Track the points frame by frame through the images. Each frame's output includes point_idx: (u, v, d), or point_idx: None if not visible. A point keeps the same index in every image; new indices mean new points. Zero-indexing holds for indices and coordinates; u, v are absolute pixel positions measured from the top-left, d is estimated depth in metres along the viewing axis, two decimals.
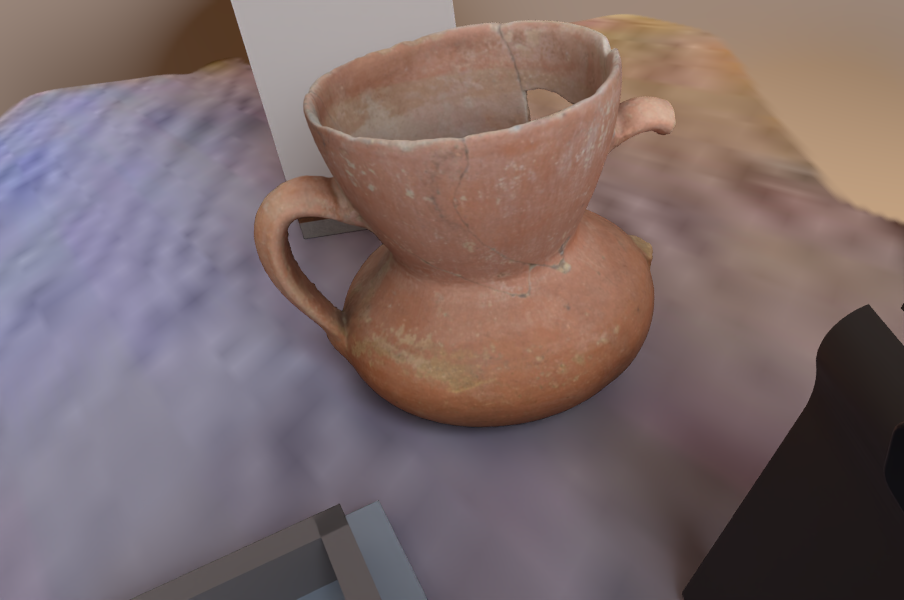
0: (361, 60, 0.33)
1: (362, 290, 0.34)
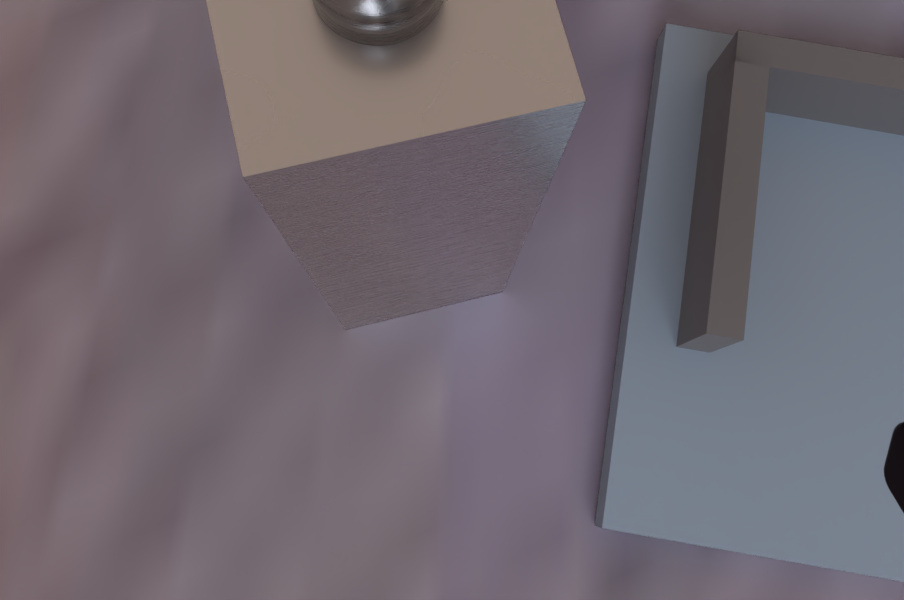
0: None
1: None
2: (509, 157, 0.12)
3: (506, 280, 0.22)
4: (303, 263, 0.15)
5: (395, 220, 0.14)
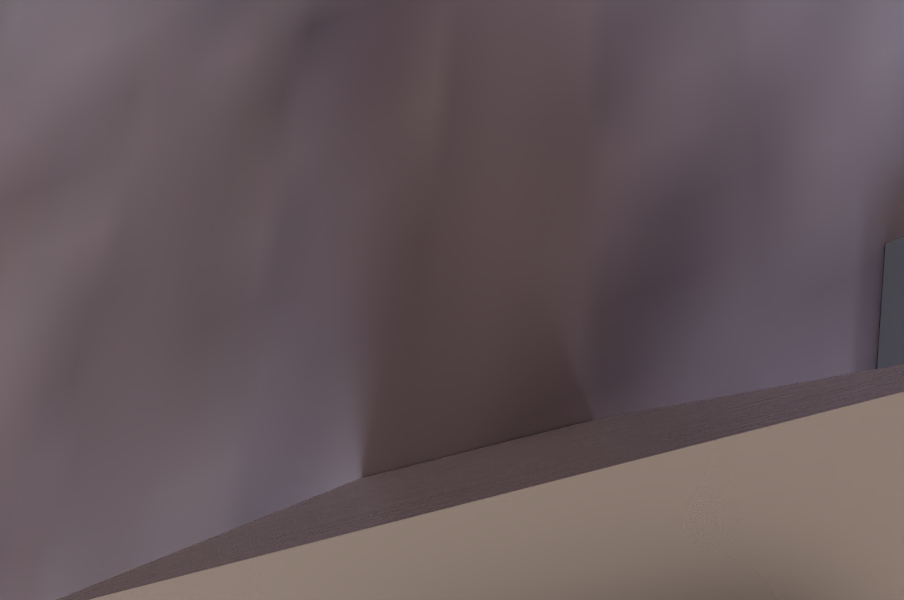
0: None
1: None
2: None
3: None
4: None
5: None
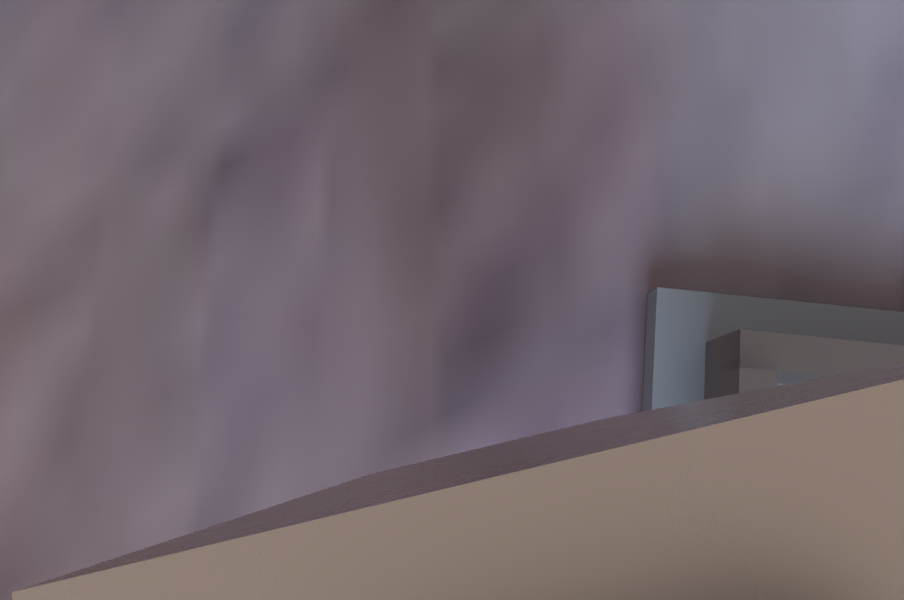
0: None
1: None
2: None
3: None
4: None
5: None
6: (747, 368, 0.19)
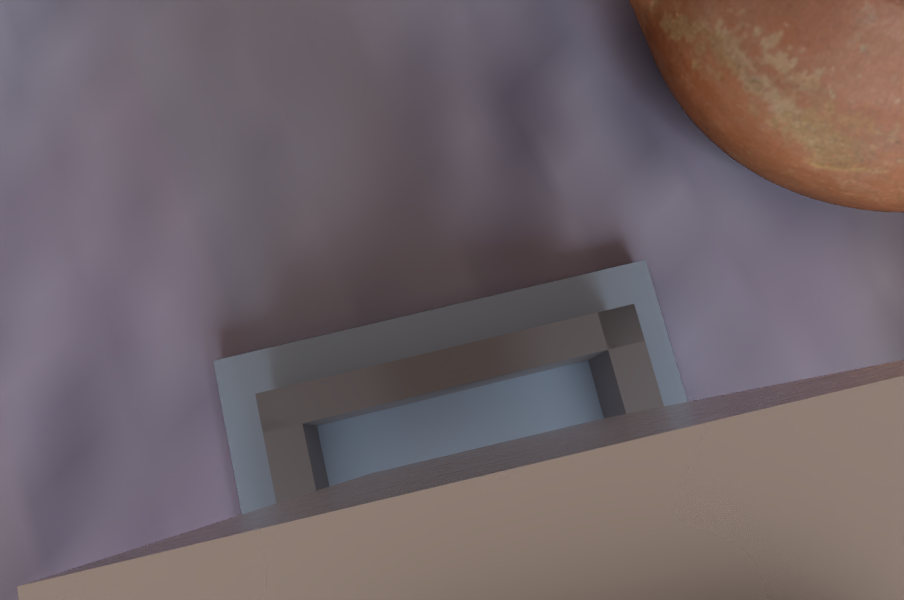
0: None
1: None
2: None
3: None
4: None
5: None
6: (270, 431, 0.19)
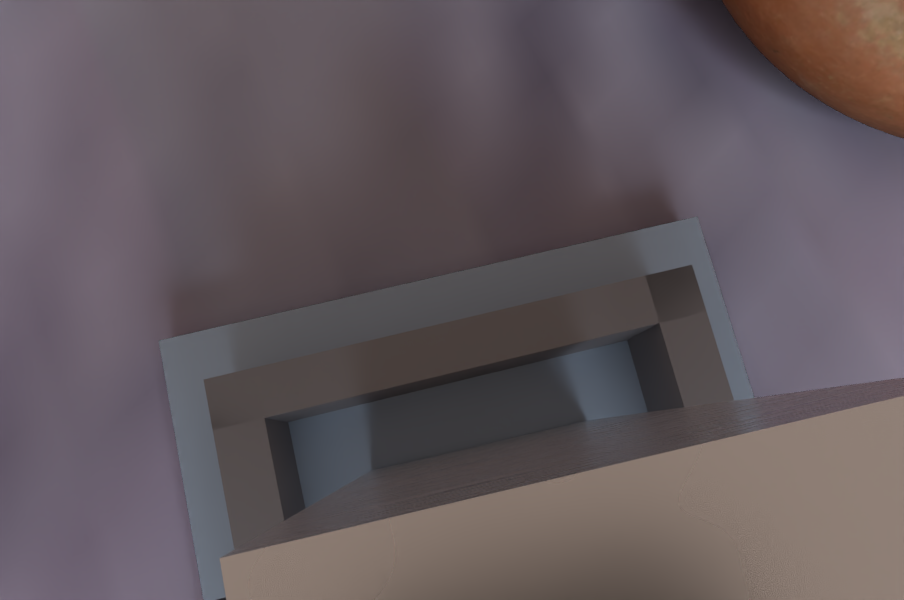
0: None
1: None
2: None
3: None
4: None
5: None
6: (223, 428, 0.14)
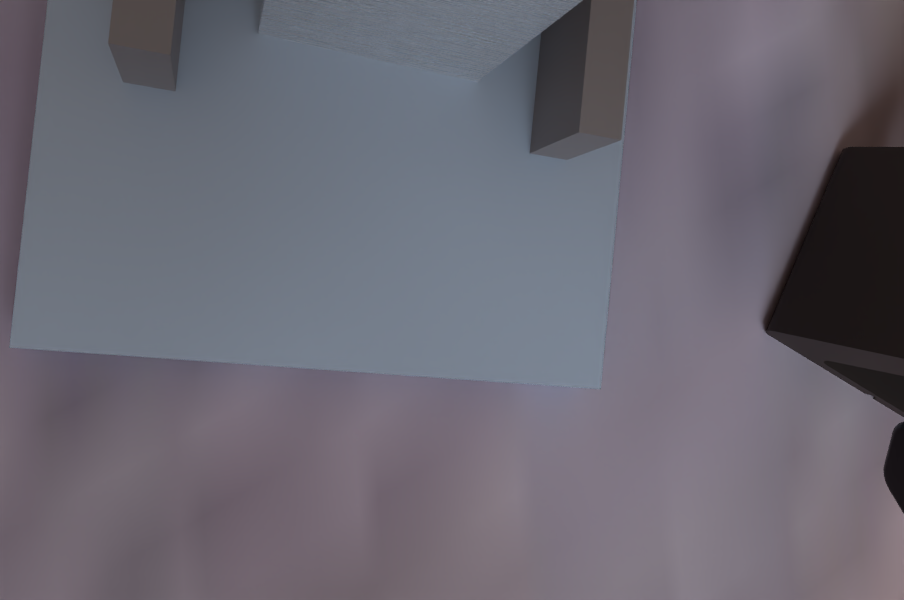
0: None
1: None
2: None
3: (501, 62, 0.16)
4: None
5: None
6: None
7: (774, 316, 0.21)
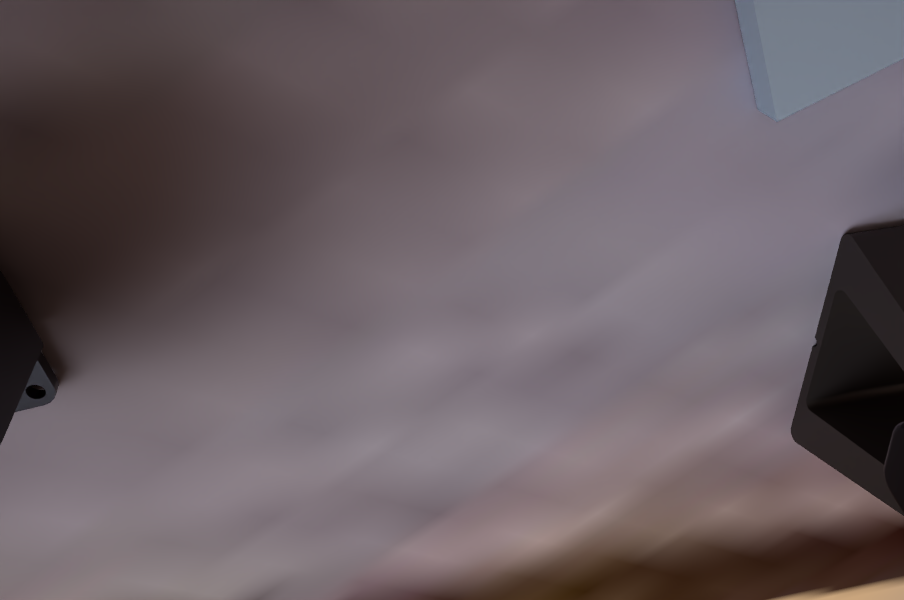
0: None
1: None
2: None
3: None
4: None
5: None
6: None
7: (861, 232, 0.24)
